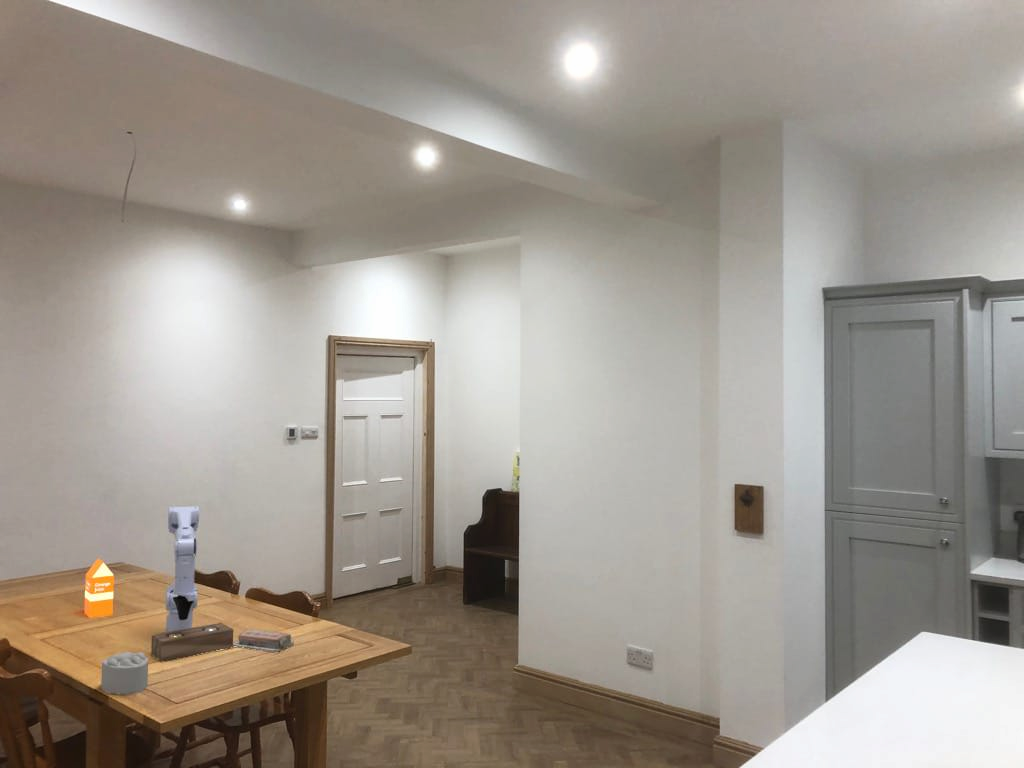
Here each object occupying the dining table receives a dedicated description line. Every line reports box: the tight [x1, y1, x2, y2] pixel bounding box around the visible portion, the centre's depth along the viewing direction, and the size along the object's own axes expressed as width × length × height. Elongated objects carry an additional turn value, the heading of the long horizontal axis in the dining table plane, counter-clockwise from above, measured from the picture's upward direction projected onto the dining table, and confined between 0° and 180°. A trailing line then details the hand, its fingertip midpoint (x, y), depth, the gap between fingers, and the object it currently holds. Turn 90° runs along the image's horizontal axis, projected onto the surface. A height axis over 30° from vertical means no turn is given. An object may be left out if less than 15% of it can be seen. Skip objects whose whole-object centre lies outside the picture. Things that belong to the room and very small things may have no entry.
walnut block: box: [150, 622, 234, 662], centre depth 245 cm, size 10×22×6 cm, turn 132°
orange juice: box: [84, 558, 115, 619], centre depth 286 cm, size 8×9×20 cm
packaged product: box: [233, 628, 295, 653], centre depth 252 cm, size 18×5×10 cm
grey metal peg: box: [205, 627, 216, 632], centre depth 248 cm, size 4×4×6 cm
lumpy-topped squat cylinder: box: [100, 651, 149, 695], centre depth 212 cm, size 10×13×9 cm
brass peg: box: [169, 634, 182, 638], centre depth 241 cm, size 4×4×6 cm
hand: (183, 619), depth 243 cm, fingers closed
